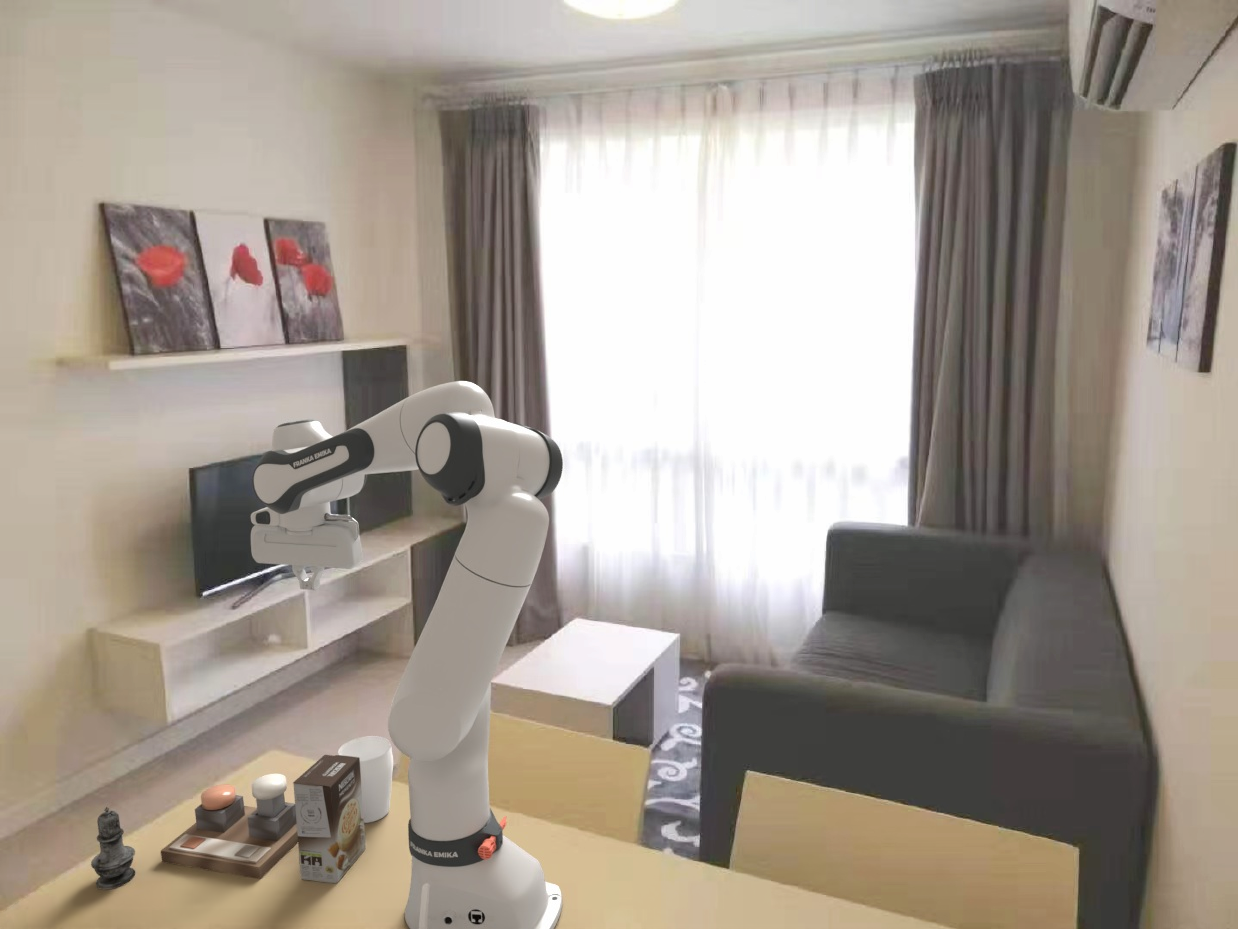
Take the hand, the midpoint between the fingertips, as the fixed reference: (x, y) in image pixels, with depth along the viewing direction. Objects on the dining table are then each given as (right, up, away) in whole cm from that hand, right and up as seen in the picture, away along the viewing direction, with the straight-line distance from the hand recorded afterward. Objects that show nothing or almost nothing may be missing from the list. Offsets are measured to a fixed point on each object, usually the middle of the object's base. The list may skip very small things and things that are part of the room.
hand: (310, 589), depth 155 cm
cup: (+11, -38, -3) cm, 40 cm away
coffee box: (+10, -41, -17) cm, 45 cm away
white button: (-2, -35, -12) cm, 37 cm away
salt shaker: (-23, -42, -20) cm, 52 cm away
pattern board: (-7, -40, -12) cm, 42 cm away
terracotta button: (-12, -37, -9) cm, 40 cm away
